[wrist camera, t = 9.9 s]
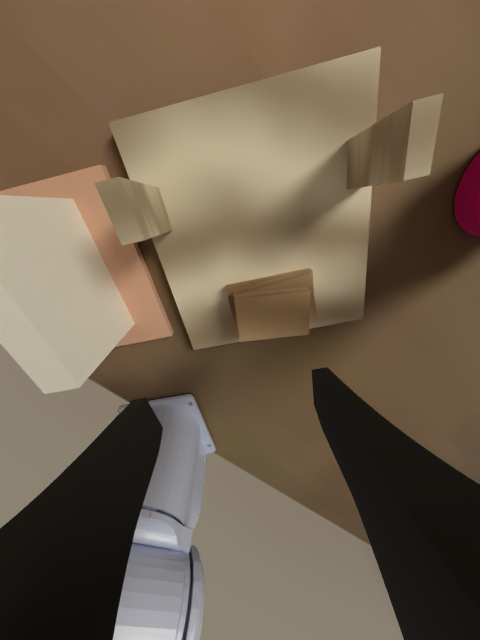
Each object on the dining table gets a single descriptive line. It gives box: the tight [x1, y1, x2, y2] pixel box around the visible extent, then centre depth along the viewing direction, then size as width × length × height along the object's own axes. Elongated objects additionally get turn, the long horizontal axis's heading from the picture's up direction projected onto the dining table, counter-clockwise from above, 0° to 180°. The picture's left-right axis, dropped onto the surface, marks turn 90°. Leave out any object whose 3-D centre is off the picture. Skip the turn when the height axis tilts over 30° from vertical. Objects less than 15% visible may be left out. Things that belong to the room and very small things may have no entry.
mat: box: [0, 165, 174, 347], centre depth 16 cm, size 12×7×1 cm, turn 12°
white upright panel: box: [0, 195, 135, 394], centre depth 12 cm, size 2×9×7 cm, turn 12°
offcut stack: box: [226, 268, 318, 342], centre depth 15 cm, size 4×6×2 cm
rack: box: [94, 47, 443, 350], centre depth 13 cm, size 15×14×6 cm
